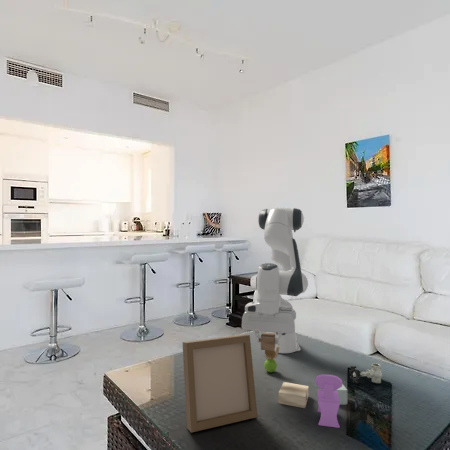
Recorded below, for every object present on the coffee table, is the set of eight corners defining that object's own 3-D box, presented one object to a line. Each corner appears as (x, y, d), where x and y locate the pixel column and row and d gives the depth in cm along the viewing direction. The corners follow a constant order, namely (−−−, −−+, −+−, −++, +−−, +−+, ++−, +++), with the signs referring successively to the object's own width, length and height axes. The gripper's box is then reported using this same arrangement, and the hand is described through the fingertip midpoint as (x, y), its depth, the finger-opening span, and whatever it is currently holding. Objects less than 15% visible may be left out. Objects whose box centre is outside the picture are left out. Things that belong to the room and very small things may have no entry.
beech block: (283, 392, 127) (283, 381, 127) (308, 397, 124) (308, 386, 124) (278, 403, 119) (278, 392, 119) (304, 409, 115) (305, 397, 115)
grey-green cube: (328, 397, 123) (328, 383, 123) (342, 397, 123) (342, 383, 123) (332, 404, 118) (333, 390, 118) (347, 404, 118) (347, 390, 118)
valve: (376, 377, 140) (348, 379, 138) (376, 361, 141) (348, 363, 139) (386, 384, 134) (357, 386, 132) (386, 367, 134) (357, 369, 132)
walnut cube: (262, 345, 134) (262, 332, 134) (275, 346, 133) (275, 333, 133) (260, 349, 129) (260, 336, 129) (274, 350, 128) (274, 337, 128)
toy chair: (340, 413, 112) (340, 367, 112) (343, 428, 104) (343, 378, 104) (314, 410, 114) (314, 364, 114) (314, 424, 106) (315, 375, 106)
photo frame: (257, 420, 108) (258, 340, 108) (191, 436, 99) (192, 348, 100) (237, 398, 121) (237, 327, 122) (177, 411, 113) (178, 334, 113)
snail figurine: (279, 375, 142) (279, 346, 142) (263, 373, 143) (263, 344, 143) (279, 370, 147) (279, 342, 147) (264, 368, 148) (264, 340, 148)
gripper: (296, 306, 132) (296, 342, 132) (243, 303, 136) (243, 338, 136) (295, 310, 125) (295, 348, 125) (240, 306, 130) (240, 343, 130)
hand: (268, 342), depth 131 cm, fingers closed on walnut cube, 5 cm apart
